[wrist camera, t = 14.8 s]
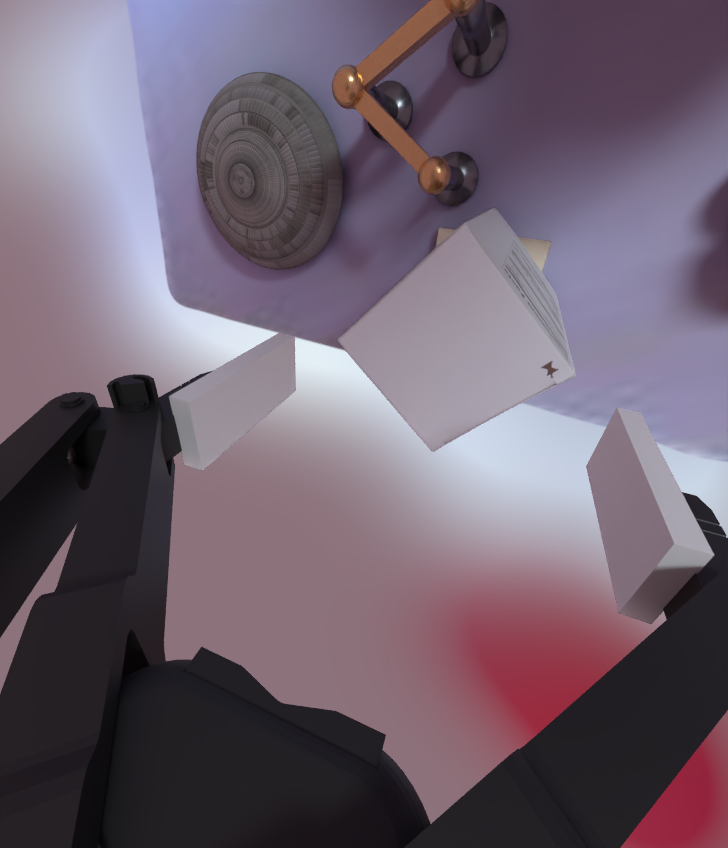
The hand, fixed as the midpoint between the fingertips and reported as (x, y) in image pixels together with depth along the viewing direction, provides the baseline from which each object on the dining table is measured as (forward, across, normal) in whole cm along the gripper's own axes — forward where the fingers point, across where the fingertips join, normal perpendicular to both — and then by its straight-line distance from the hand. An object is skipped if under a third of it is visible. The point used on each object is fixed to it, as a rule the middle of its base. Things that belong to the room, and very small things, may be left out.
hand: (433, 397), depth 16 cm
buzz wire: (+23, -7, +12) cm, 26 cm away
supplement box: (+22, 0, 0) cm, 22 cm away
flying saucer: (+23, -21, +6) cm, 32 cm away
